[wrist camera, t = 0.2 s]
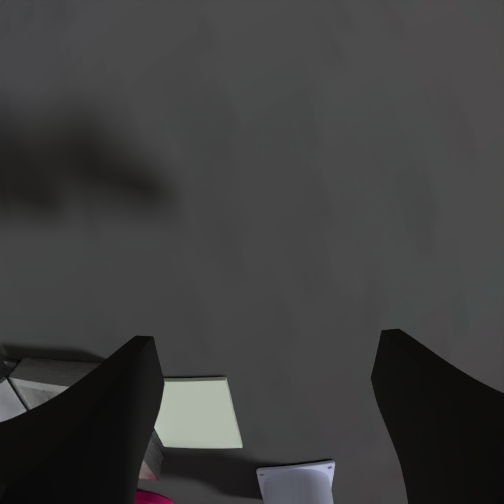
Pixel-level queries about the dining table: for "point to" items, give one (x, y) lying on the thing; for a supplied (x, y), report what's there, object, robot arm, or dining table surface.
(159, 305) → the dining table surface
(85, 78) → the dining table surface
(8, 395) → the lid
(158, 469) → the case
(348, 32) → the dining table surface
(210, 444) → the pad
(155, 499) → the pepper mill
